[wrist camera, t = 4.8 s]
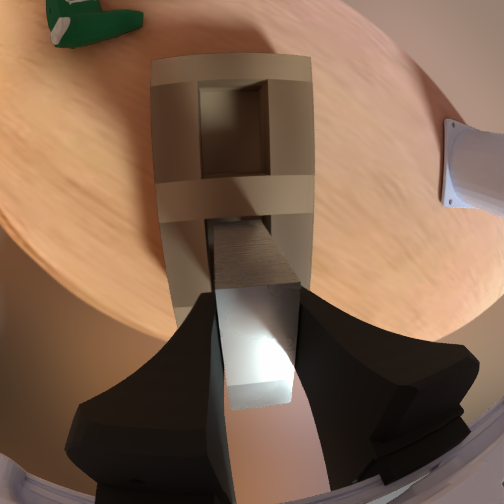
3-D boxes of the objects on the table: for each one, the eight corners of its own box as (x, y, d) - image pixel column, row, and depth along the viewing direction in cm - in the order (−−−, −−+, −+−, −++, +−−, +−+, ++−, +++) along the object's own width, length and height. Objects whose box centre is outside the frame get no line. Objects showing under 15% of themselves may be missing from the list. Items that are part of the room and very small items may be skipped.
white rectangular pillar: (260, 219, 14) (300, 281, 8) (262, 311, 16) (290, 402, 10) (213, 222, 14) (215, 289, 7) (221, 314, 16) (231, 410, 9)
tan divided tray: (290, 75, 15) (310, 56, 11) (291, 285, 20) (307, 315, 16) (164, 79, 14) (151, 60, 10) (182, 295, 19) (177, 328, 15)
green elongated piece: (103, -17, 10) (39, -8, 6) (125, -46, 8) (55, -42, 4) (125, 50, 14) (51, 67, 10) (151, 20, 11) (65, 30, 7)
